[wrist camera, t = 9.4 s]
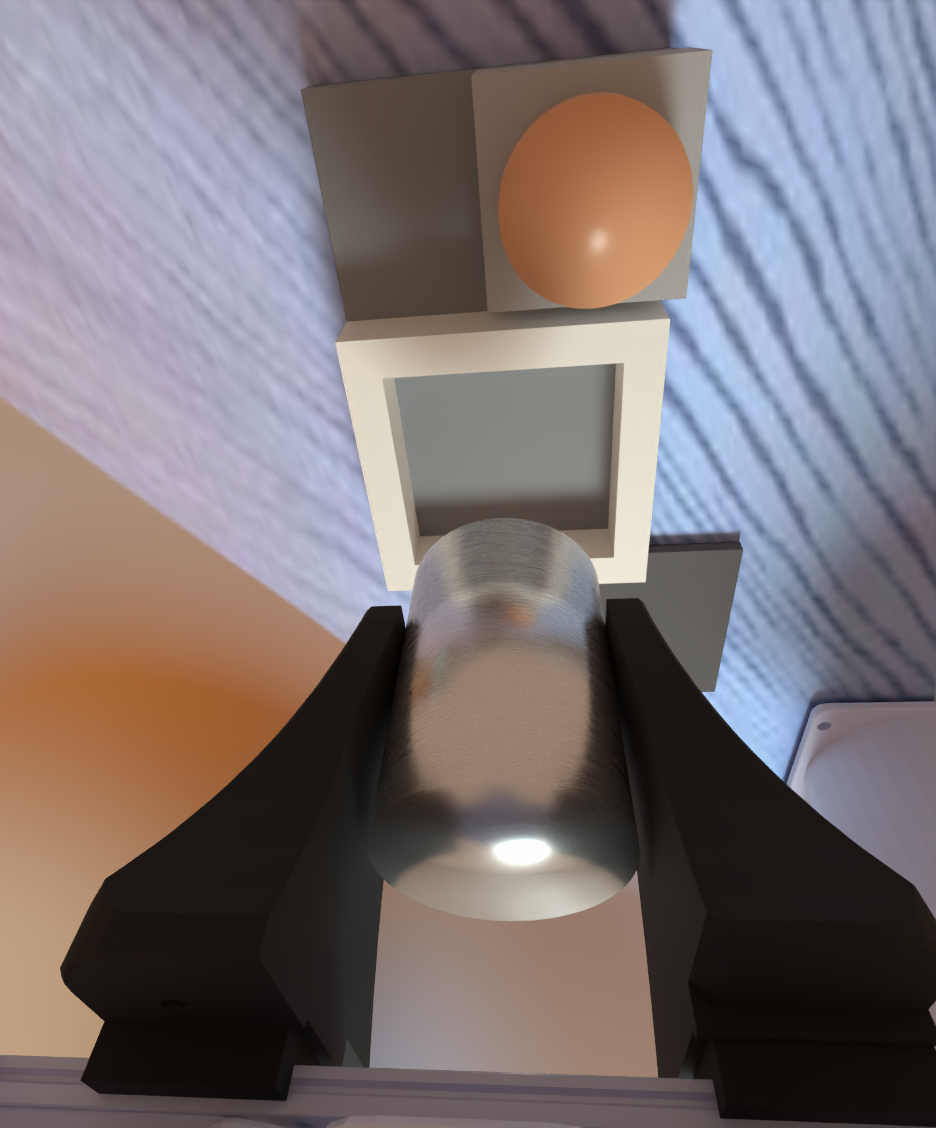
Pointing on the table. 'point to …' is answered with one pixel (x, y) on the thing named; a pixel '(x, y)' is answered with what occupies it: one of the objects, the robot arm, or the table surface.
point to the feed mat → (688, 602)
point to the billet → (505, 734)
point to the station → (491, 313)
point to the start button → (594, 200)
